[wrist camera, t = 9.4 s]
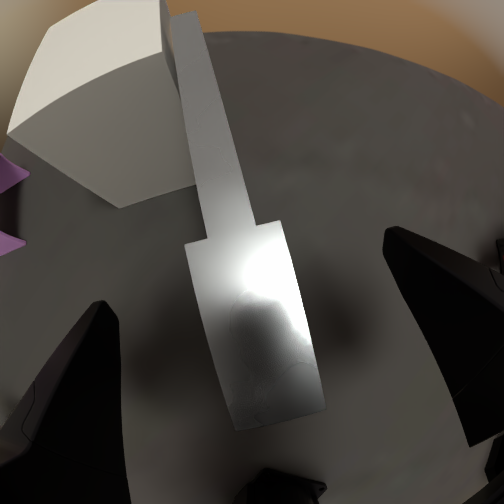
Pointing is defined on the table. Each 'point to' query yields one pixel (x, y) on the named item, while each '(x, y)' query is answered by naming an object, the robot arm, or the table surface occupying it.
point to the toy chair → (3, 177)
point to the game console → (501, 253)
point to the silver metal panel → (240, 264)
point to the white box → (108, 102)
